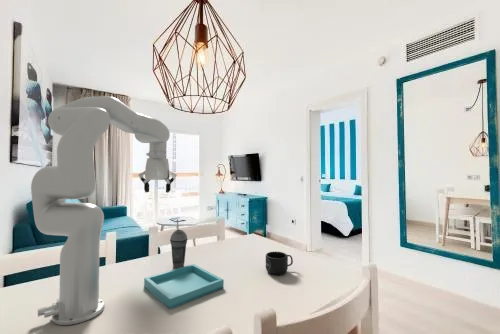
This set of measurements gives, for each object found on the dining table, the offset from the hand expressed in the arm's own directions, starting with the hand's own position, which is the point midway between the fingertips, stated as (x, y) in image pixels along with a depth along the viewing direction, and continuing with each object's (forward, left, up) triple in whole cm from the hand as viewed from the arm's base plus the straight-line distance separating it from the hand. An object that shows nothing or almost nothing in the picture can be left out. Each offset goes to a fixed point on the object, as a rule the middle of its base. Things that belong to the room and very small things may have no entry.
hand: (157, 192), depth 118 cm
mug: (+31, -48, -31) cm, 65 cm away
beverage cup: (+3, -15, -31) cm, 35 cm away
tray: (-5, -34, -31) cm, 46 cm away
